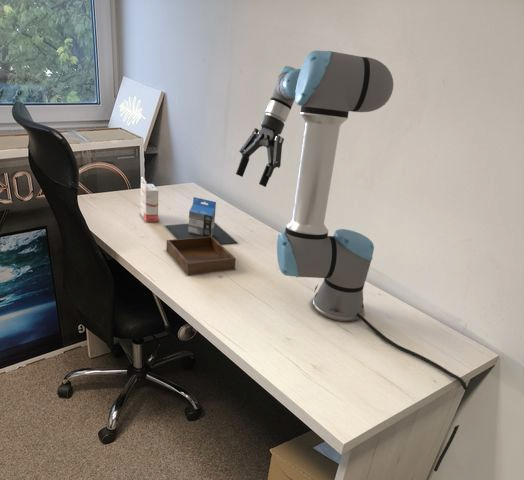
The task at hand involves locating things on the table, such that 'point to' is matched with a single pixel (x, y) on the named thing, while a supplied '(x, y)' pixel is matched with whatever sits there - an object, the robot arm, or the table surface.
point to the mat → (218, 235)
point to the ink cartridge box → (149, 201)
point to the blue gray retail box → (202, 217)
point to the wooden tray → (200, 255)
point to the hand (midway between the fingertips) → (250, 180)
